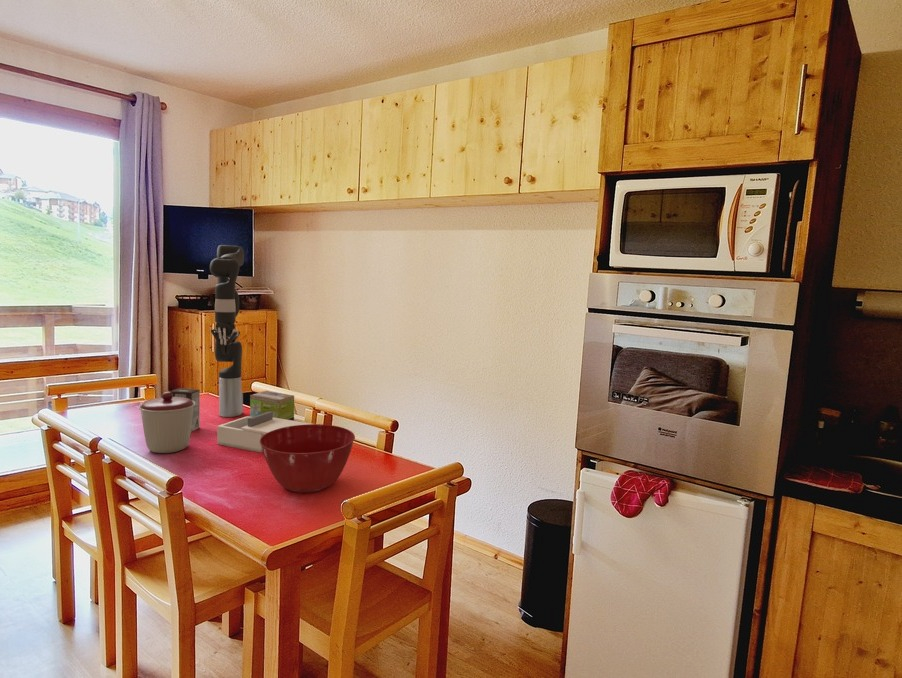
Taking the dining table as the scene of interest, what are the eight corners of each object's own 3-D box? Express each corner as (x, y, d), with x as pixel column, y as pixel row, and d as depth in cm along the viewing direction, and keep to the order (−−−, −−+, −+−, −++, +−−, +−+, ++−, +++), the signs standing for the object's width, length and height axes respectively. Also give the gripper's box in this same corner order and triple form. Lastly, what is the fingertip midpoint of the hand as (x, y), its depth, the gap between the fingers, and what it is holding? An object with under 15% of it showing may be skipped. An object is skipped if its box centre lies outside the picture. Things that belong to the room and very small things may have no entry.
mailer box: (217, 444, 204) (217, 426, 203) (247, 433, 219) (247, 416, 218) (260, 452, 197) (260, 433, 196) (288, 440, 212) (288, 422, 211)
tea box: (249, 429, 224) (249, 394, 222) (266, 423, 233) (266, 389, 231) (278, 435, 218) (278, 399, 216) (294, 429, 228) (295, 394, 226)
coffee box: (170, 430, 218) (169, 391, 216) (179, 425, 225) (178, 387, 223) (191, 431, 218) (191, 392, 216) (200, 427, 224) (200, 389, 222)
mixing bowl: (294, 512, 151) (294, 459, 149) (241, 483, 169) (241, 435, 167) (372, 485, 172) (373, 438, 170) (317, 462, 190) (318, 419, 188)
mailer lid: (241, 429, 199) (241, 419, 199) (271, 419, 215) (271, 409, 214) (288, 438, 192) (288, 427, 192) (315, 426, 207) (315, 416, 207)
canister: (206, 447, 201) (206, 391, 198) (160, 461, 185) (159, 400, 182) (175, 438, 209) (174, 384, 206) (128, 450, 193) (126, 392, 190)
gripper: (245, 311, 215) (245, 354, 218) (219, 308, 220) (219, 351, 222) (231, 312, 208) (232, 356, 211) (204, 309, 213) (205, 353, 215)
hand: (225, 353), depth 216 cm, fingers closed
